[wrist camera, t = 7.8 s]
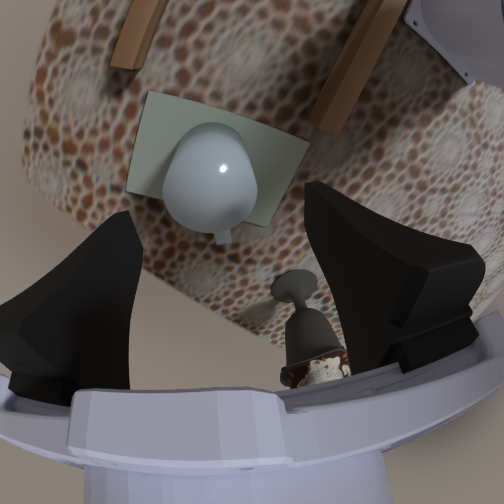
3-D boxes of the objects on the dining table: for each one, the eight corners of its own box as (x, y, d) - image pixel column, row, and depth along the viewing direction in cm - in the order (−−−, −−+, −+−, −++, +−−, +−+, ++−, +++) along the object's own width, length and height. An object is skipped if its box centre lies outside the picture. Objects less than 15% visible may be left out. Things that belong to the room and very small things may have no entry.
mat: (309, 142, 19) (310, 143, 19) (266, 226, 24) (267, 227, 23) (149, 90, 15) (149, 90, 15) (126, 189, 20) (125, 191, 20)
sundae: (331, 292, 30) (375, 416, 19) (276, 313, 32) (302, 439, 20) (317, 252, 26) (373, 400, 15) (253, 278, 27) (278, 430, 16)
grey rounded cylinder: (254, 201, 22) (265, 249, 17) (191, 212, 22) (186, 263, 17) (241, 116, 17) (250, 141, 13) (169, 131, 17) (150, 162, 13)
